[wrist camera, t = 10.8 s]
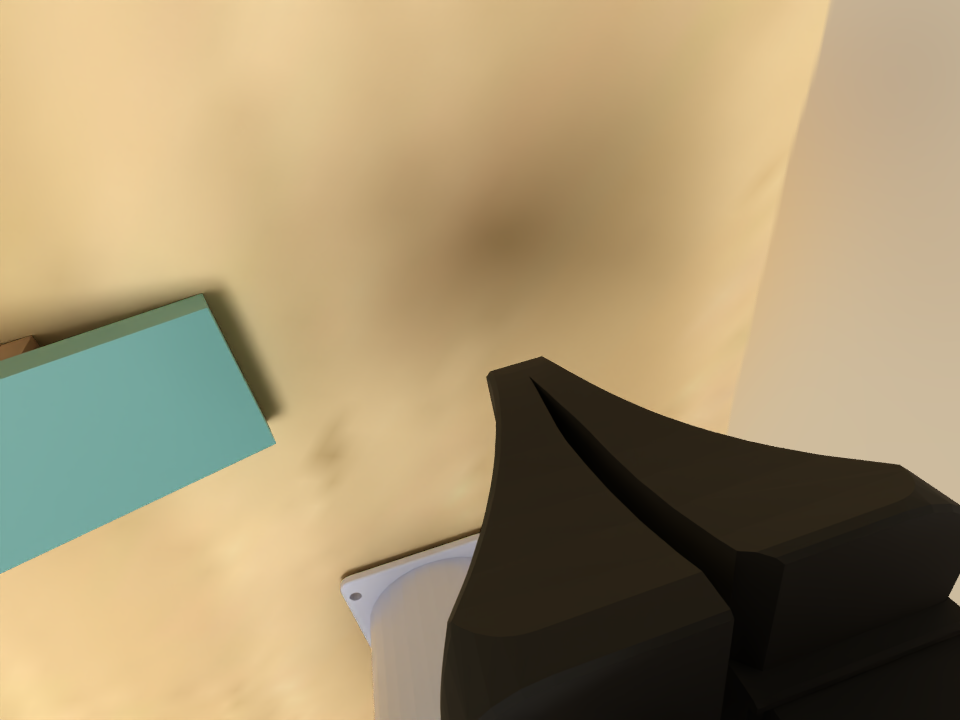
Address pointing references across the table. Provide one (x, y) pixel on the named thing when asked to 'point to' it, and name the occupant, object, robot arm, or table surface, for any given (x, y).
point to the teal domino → (117, 424)
